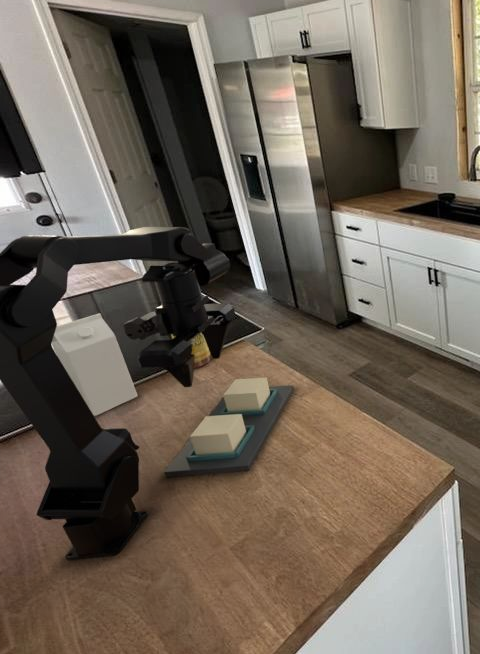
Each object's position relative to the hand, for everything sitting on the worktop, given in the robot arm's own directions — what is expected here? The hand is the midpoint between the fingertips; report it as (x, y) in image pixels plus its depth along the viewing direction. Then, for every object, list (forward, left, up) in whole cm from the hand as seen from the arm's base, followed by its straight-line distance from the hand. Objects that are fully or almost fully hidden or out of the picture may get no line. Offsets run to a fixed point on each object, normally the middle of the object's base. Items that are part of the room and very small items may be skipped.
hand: (203, 371), depth 78 cm
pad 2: (+2, -5, -10) cm, 12 cm away
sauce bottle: (+21, +15, -11) cm, 28 cm away
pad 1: (-9, -5, -10) cm, 14 cm away
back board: (-3, -5, -11) cm, 13 cm away
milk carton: (+8, +25, -11) cm, 28 cm away
